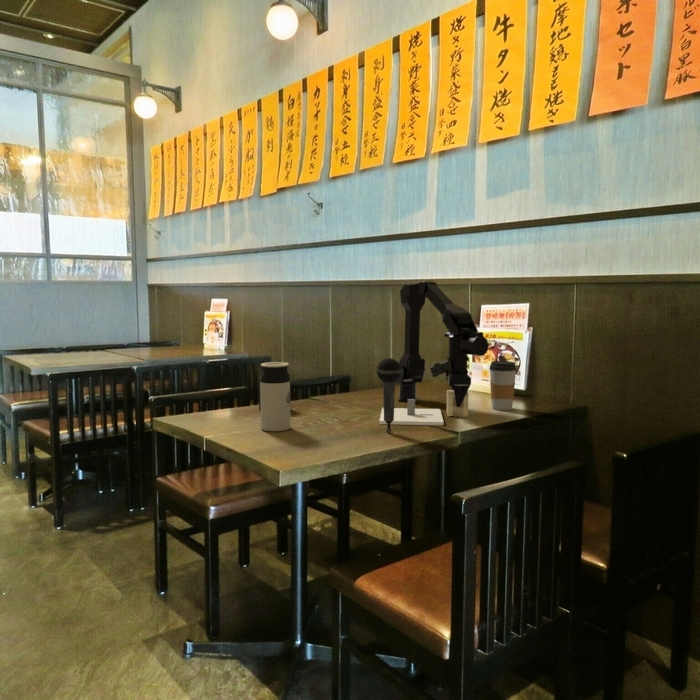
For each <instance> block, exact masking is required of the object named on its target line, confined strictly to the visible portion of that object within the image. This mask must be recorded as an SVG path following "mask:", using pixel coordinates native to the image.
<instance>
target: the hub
mask: <svg viewBox="0 0 700 700" xmlns="http://www.w3.org/2000/svg"><path fill="white" fill-rule="evenodd" d="M406 403H407V405H406V408H403V407H401V408H400V407H396V408H395V407H394V421H392V423H390V425H395V426H396V425H398V426H400V425H401V426H403V425H404V426H405V425H406V426H442V425H443V426H444V425H445V424H444V419H443V415H442V411H441V408H416V402H415V399H408V401H406ZM378 424H379V425H388V423H386V421H384V407H381V411H380V416H379V423H378Z"/></svg>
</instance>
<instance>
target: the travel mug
mask: <svg viewBox="0 0 700 700" xmlns="http://www.w3.org/2000/svg"><path fill="white" fill-rule="evenodd" d="M289 365H290V364H289V362H285V361H284V362H283V361H270V362H263V363H261V364H260V366H261V370H262V371H261V374H260V376H259V378H260V390H261V410H260V429H261V430H262V431H265V432H272V433H275V432H276V433H277V432H284V431H287V430H289V429H290V428H291V376H290V373H289V371H288V367H289Z"/></svg>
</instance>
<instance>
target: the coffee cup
mask: <svg viewBox="0 0 700 700" xmlns="http://www.w3.org/2000/svg"><path fill="white" fill-rule="evenodd" d="M516 371H517V366H516V362H514V361H508V360H494V361H491V362H490V364H489V377H490V380H489V381H490V382H489V383H490V385H489V386H490V400H491V408H492V410H494V411H503V412H507V411H511V410H512V409H513V405H514V404H513V403H514V397H515V385H516Z"/></svg>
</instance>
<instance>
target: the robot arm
mask: <svg viewBox="0 0 700 700" xmlns="http://www.w3.org/2000/svg"><path fill="white" fill-rule="evenodd" d="M399 296H400V303H401V306H402V307H403V309H404V310H405V311H404V312H405V313H404V314H405V315H404V317H405V318H404V351H403V352H404V353H403V354H402V356H401V358H400V359H399V364H400V366H401V369H402V373H401V376H400V378H399V379H398V380H397V381H395V384H398V385H399V388H398V389H399V391H398V392H399V396H398V398H397V401H398V402H408V399H415V403H416V402H418V397H417V383H422V382H423V377H424V374H425V372H426V367H425V365H426V364H425V363H426V361H425V359H424V358H422V356H421V355H420V333H421V332H420V329H421V328H420V327H421V310H422V309H423V307H424V305H425V304H426V300H427V299H428V300H429V302H430V303H431V304H432V305H433V306H434V308H436V310H437V311H438V312H439V313H440V314H441V319H442V320H441V321H442V323H443V324H444V326H445V328H446V329H447V330H448V331H447V332H445V333H444V338H448V351H447V352H448V353H447V354H448V355H447V356H446V359H445V360H443V361H438V362H436V363H433V364H431V365H430V366H428V368H429V370H430V373H431V376H432V378H436V377H438V376H440V375H443V374H444V375H445V376H444V377H445V378H446V380H447V382H448V385H449V387H450V388H451V390H454V394H455V400H456V406H457V407H460V406H461V404H462V402H463V400H464V397H465V395H466V393H467V392H468V391H469V389H470V387H471V385H472V378H471V377H470V375H469V370H468V361H469V357H468V356H469V355H471V356H477V357H482V356H485V355H486V353H487V352H488V350H489V342H488V340H487V338H486V337H484V332H483V331H480V332H479V330H478V327H477V326H476V324H475V322H474V320H473V318H472V314H471V313H470V312H469V311H468V310H466V309H465V308H464V307H461V306H460V305H459V306H458V305H456V304H454V302H453V301H452V300H451V299H450V298H449V297H448V296H447V295H446V293H444V292H443V291H442V289H441V288H439V286H438V284H437V282H435V281H430V280H428V281H427V280H424V281H420V282H417V283H413V284H412V283H411V284H404V285H402V287H401V289H400V291H399ZM426 298H427V299H426Z"/></svg>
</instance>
